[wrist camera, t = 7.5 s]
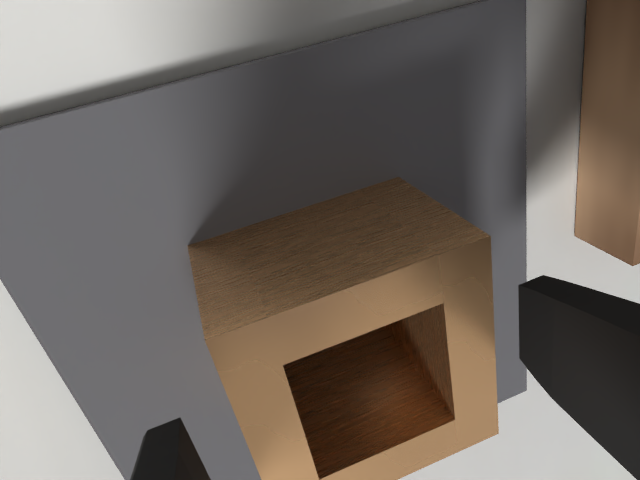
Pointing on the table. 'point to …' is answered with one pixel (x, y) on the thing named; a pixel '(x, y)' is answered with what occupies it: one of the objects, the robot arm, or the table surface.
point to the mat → (250, 202)
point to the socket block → (610, 131)
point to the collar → (353, 334)
